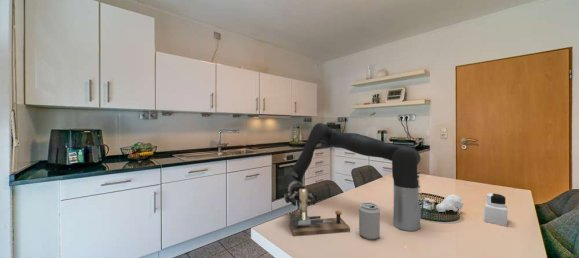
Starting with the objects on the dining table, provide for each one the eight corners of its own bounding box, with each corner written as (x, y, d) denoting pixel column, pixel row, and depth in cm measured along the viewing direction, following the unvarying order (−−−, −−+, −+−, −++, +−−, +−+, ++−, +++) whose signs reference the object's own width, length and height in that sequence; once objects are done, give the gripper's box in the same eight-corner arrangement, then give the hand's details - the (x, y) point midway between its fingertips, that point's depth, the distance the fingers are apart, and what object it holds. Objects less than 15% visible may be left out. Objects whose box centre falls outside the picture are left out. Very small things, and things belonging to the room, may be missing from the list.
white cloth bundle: (464, 196, 105) (441, 199, 103) (465, 213, 105) (443, 217, 103) (452, 192, 111) (431, 195, 109) (454, 208, 111) (432, 212, 110)
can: (377, 242, 80) (377, 209, 80) (356, 237, 84) (356, 205, 84) (381, 234, 86) (381, 203, 86) (361, 229, 90) (361, 200, 90)
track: (340, 220, 98) (340, 207, 98) (350, 231, 88) (350, 216, 88) (289, 224, 95) (289, 210, 94) (293, 236, 85) (293, 220, 85)
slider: (320, 218, 94) (320, 186, 93) (323, 223, 89) (323, 190, 89) (296, 220, 92) (296, 188, 92) (298, 225, 88) (298, 191, 87)
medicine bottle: (506, 221, 97) (507, 194, 97) (507, 226, 92) (507, 198, 92) (484, 216, 102) (485, 191, 102) (484, 221, 97) (484, 194, 97)
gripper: (281, 183, 103) (286, 194, 87) (311, 182, 105) (321, 192, 89) (281, 199, 103) (286, 213, 87) (311, 197, 105) (321, 211, 89)
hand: (304, 203), depth 88 cm, fingers open, 7 cm apart
